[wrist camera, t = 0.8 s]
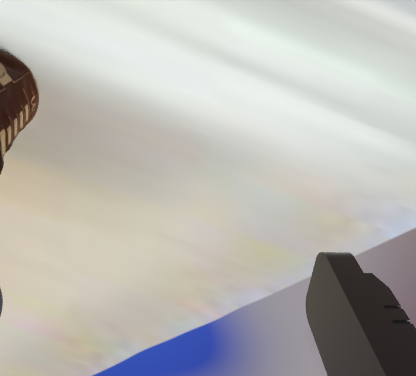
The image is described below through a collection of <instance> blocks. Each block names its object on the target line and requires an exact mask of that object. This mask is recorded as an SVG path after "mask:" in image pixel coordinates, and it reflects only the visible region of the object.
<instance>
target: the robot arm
mask: <svg viewBox="0 0 416 376" xmlns="http://www.w3.org/2000/svg"><path fill="white" fill-rule="evenodd" d="M2 303H3V299H2V293H1V289H0V315H1V311H2ZM306 314H307V318H308V322H309V325H310V328H311V331H312V333H313V336H314V339H315V342H316V344H317V347H318V350H319V353H320V355H321V358H322V361H323V364H324V367H325V369H326V372H327V375H328V376H416V328H415V327H414V325H413V324H410V319H409V318H408V316H407V315H406V313H405V312H404V310H403V309H401V307H400V304H399V302H398V301H397V300H396V298H395V296H394V295H393V293H392V291H391V290H390V289H389V287H387V286H386V285H385V284H384V283H383V282H381V281H380V280H379V279H378V278H377V277H376V276H374V275H373V274H372V273H363V271H362V269H361V268H360V266H359V264H358V263H357V261H356V259H355V258H354V256H353V255H352V254H351V253H335V252H321V253H319V254H318V255H317V258H316V261H315V265H314V269H313V273H312V277H311V280H310V285H309V289H308V292H307V296H306Z"/></svg>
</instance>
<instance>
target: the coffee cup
mask: <svg viewBox="0 0 416 376" xmlns="http://www.w3.org/2000/svg"><path fill="white" fill-rule="evenodd" d="M38 102H39V92H38V87H37V83H36V80H35V78H34V76H33V74H32V72H31V71H30V69H29V68H28V67H26V66H25V65H24V64H23V63H22V62H20V61H19V60H18V59H17V58H15V57H14V56H12V55H10V54H7V53H4V52H1V51H0V174H1V171H2V168H3V165H4V161H3V156H4V154H5V153H6V152H7V151H8V150H9V149H10V147H11V146H12V143H13V141H14V139H15V138H16V137H17V135H18V133H19V132H20V131H21V130H23V129H24V128H25V126H26V125H27V124H28V123H30V121H31V120H32V119H33V118H34V116H35V114H36V111H37V108H38Z"/></svg>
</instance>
